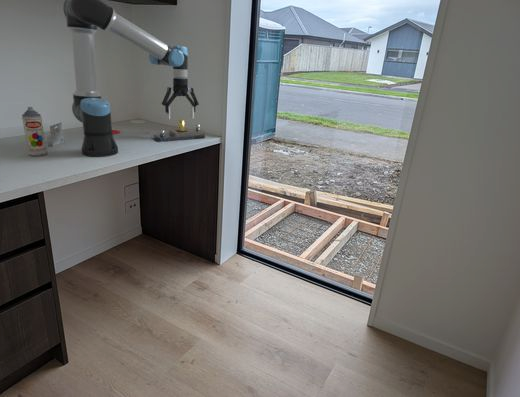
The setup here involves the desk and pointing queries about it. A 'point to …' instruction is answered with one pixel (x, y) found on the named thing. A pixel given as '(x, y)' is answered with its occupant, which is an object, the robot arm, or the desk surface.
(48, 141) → the ink cartridge box
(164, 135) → the door bolt
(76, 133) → the desk surface
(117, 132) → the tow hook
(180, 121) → the brass pin
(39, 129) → the aerosol can
